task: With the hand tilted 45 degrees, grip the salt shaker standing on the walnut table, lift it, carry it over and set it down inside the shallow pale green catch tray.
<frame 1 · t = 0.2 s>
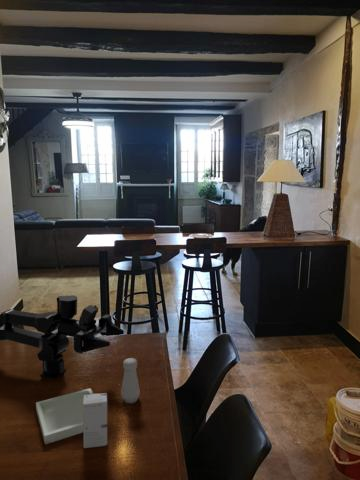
hand: (117, 338, 117), 17 cm above the table, tool horizontal, fingers open, 9 cm apart
tray: (70, 417, 104), on the table
skincare box: (96, 441, 95), on the table
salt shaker: (130, 400, 113), on the table
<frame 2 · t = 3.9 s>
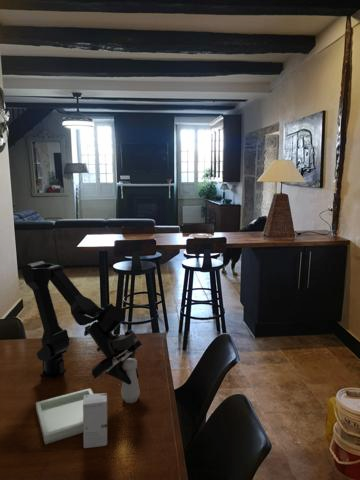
hand: (134, 380, 111), 7 cm above the table, tool tilted 45°, fingers closed on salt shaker, 3 cm apart
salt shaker: (130, 400, 113), on the table, touching gripper
everything else where it was.
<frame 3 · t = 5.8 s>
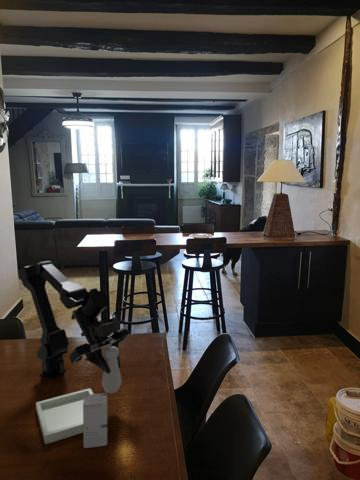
hand: (114, 370, 106), 12 cm above the table, tool tilted 45°, fingers closed on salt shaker, 3 cm apart
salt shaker: (111, 390, 108), point 5 cm above the table, touching gripper
everything else where it was.
when the fingers open (8 cm above the table, at t = 7.7 s): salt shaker stays where it is, resting on tray.
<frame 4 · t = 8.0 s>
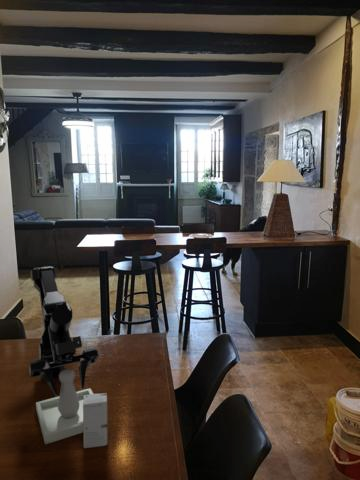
hand: (69, 392, 101), 9 cm above the table, tool tilted 45°, fingers open, 7 cm apart
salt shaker: (69, 414, 104), point 1 cm above the table, touching tray
everything else where it was.
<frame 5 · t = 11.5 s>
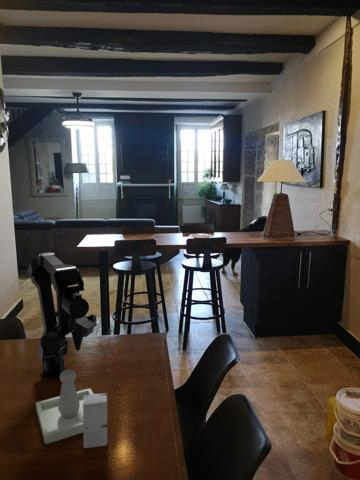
hand: (69, 356, 112), 13 cm above the table, tool pointing down, fingers open, 9 cm apart
nothing on the table moved.
at the end: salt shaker inside the target area on the tray (0.3 cm from its centre), point 0.6 cm above the tray's base; the gripper is holding nothing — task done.
